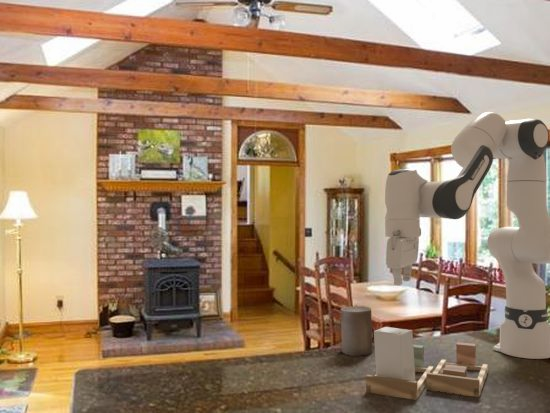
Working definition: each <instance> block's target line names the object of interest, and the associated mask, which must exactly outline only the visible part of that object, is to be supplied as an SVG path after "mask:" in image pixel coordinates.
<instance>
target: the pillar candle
mask: <svg viewBox="0 0 550 413" xmlns="http://www.w3.org/2000/svg"><path fill="white" fill-rule="evenodd" d="M372 318H373V317H372V309H371V307H368V306H360V305H359V306H358V305H357V304H356V305H355V306H354V305H353V306H343V307H341V308H340V320H341V321H340V324H341V326H340V328H341V330H340V331H341V332H340V333H341V336H340V337H341V352H342V353H343V354H345V355H348V356H353V357H357V356H358V357H362V356H368V355H371V354H373V326H372V325H373V324H372V323H373V320H372Z"/></svg>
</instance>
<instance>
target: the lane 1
mask: <svg viewBox="0 0 550 413" xmlns="http://www.w3.org/2000/svg"><path fill="white" fill-rule="evenodd" d="M413 348H414V364H415V373H417V372H418V373H423V374H422V375H421V377H420V378H419V379H418V380H415V381H411V380H404V379H396V378H389V377H381V376H376V374H375V375H372V374H366V375H365V393H368V394H375V395H382V396H386V397H387V396H388V397H395V398H401V399H407V400H415V401H417V400H418V398H419V397H420V395H421V394H422V392H423V391H424V390H425V388H426V387H427V372H428V373H433V372H434V370H435V368H434V367H435V366H434V365H429V366H428V367H425V346H424V345H420V344H413Z"/></svg>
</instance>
